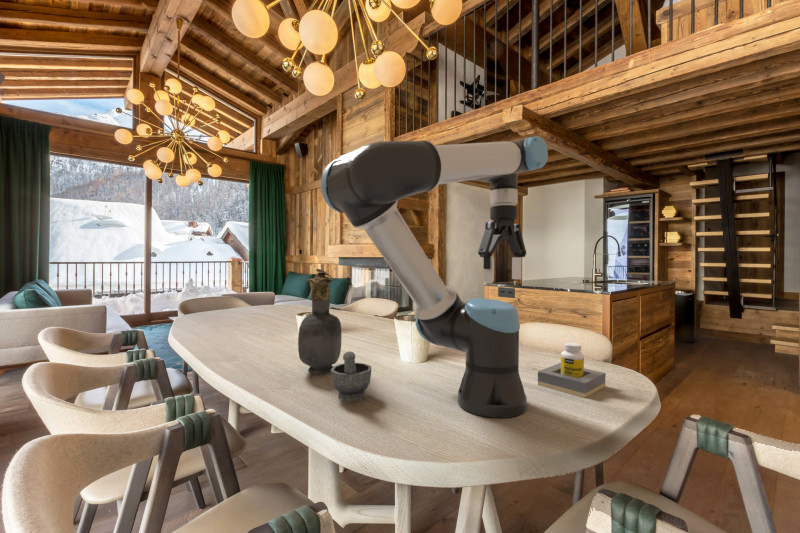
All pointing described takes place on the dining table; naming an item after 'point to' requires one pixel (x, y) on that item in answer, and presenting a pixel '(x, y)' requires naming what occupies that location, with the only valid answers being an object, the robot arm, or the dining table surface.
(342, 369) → the mortar and pestle
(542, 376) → the socket block
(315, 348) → the dark decorative bottle
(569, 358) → the supplement bottle
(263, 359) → the dining table surface
